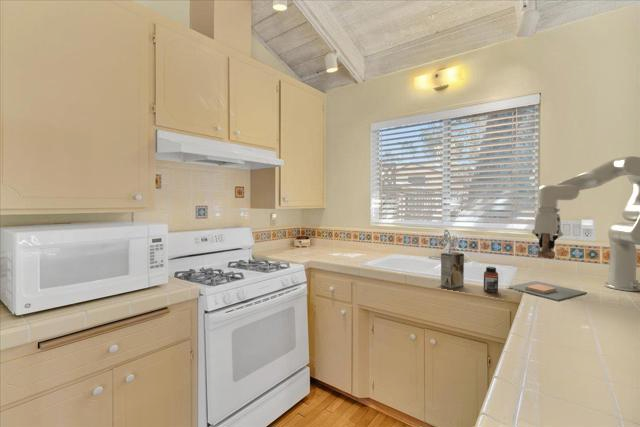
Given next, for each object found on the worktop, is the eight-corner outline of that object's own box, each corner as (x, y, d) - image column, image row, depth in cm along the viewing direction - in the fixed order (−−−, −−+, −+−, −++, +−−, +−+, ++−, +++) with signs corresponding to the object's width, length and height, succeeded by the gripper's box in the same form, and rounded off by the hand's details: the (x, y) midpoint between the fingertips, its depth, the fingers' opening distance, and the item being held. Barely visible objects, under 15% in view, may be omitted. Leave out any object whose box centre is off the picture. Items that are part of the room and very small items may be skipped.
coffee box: (453, 283, 164) (453, 251, 163) (463, 286, 158) (464, 253, 157) (440, 285, 160) (440, 253, 159) (450, 288, 154) (451, 255, 153)
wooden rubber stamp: (555, 257, 156) (555, 231, 156) (550, 258, 155) (551, 231, 154) (541, 255, 162) (542, 230, 161) (537, 256, 160) (538, 230, 159)
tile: (556, 288, 147) (543, 290, 143) (556, 291, 147) (543, 294, 143) (537, 283, 154) (525, 286, 150) (537, 287, 154) (525, 289, 150)
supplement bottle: (486, 288, 153) (486, 265, 153) (499, 291, 149) (500, 267, 149) (481, 291, 149) (482, 267, 149) (495, 294, 145) (496, 269, 145)
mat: (586, 293, 146) (586, 292, 146) (557, 301, 135) (557, 299, 135) (535, 282, 166) (535, 281, 166) (506, 288, 155) (506, 286, 155)
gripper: (571, 211, 151) (570, 249, 152) (534, 210, 166) (533, 245, 167) (562, 211, 148) (561, 251, 149) (525, 210, 163) (524, 246, 164)
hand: (546, 247), depth 158 cm, fingers closed on wooden rubber stamp, 3 cm apart
